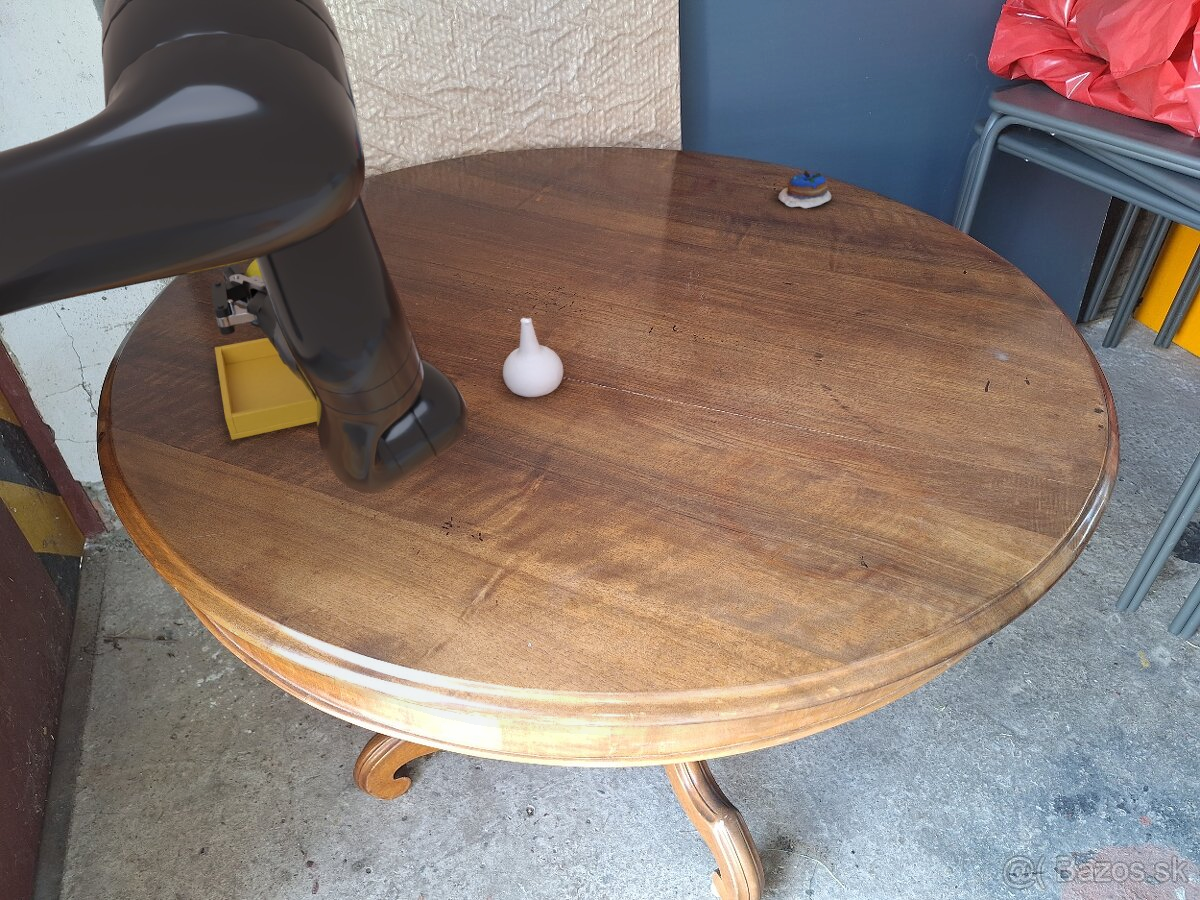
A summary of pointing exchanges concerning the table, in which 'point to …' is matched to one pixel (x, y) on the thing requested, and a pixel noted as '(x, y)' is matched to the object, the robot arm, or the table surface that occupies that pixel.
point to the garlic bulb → (532, 366)
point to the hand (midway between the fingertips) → (263, 263)
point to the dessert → (805, 191)
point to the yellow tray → (260, 390)
